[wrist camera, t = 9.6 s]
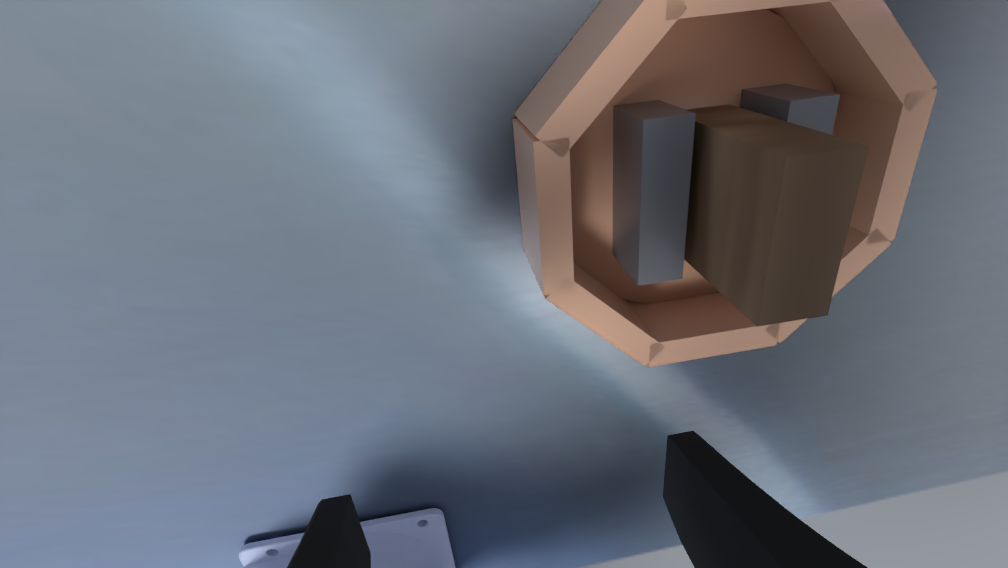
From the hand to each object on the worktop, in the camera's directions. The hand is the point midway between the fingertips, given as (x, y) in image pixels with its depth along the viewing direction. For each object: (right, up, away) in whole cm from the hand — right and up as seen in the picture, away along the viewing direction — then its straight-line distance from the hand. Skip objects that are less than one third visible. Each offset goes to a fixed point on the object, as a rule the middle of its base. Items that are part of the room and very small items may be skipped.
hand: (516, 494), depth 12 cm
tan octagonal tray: (+6, +9, +7) cm, 13 cm away
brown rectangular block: (+6, +9, +6) cm, 12 cm away
